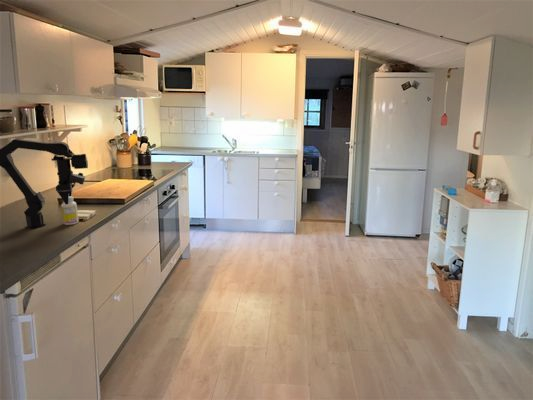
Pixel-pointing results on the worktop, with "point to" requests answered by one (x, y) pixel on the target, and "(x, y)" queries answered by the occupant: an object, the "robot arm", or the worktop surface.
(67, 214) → the supplement bottle
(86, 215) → the birch stand
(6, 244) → the worktop surface
